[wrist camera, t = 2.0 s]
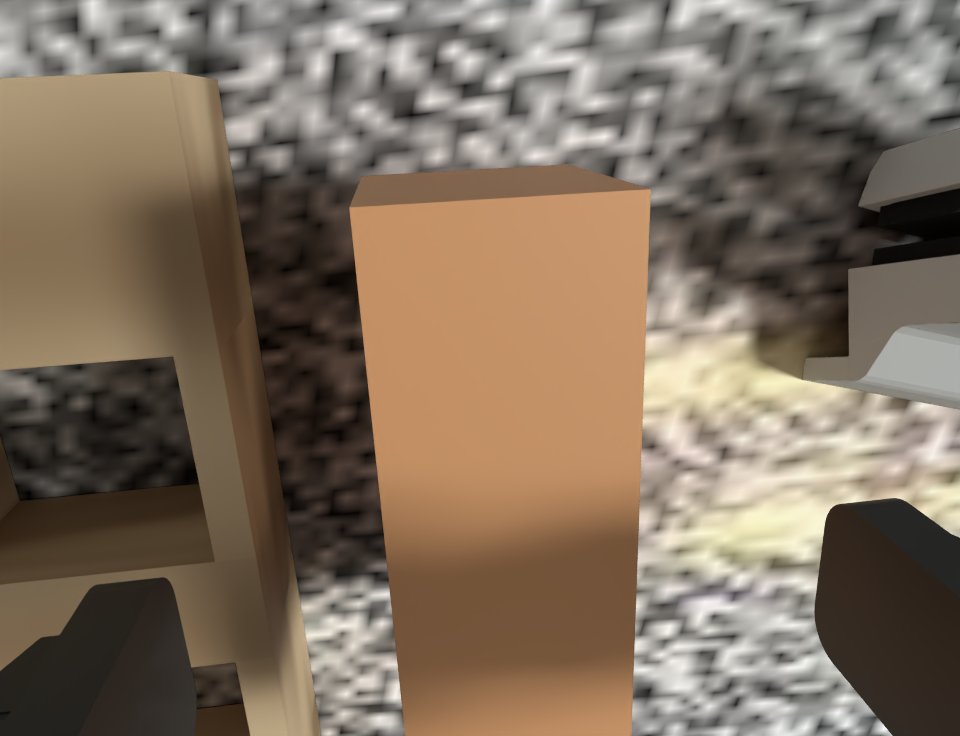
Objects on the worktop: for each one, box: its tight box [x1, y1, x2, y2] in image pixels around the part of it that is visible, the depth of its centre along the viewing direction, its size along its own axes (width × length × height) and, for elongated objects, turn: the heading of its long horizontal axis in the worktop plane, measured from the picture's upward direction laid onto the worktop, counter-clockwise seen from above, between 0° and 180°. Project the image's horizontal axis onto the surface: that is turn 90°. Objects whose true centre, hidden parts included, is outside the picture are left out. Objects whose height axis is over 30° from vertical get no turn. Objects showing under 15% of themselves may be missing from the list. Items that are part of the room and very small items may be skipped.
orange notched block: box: [349, 164, 651, 736], centre depth 12 cm, size 9×3×7 cm, turn 2°
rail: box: [0, 71, 321, 736], centre depth 14 cm, size 18×6×3 cm, turn 3°
